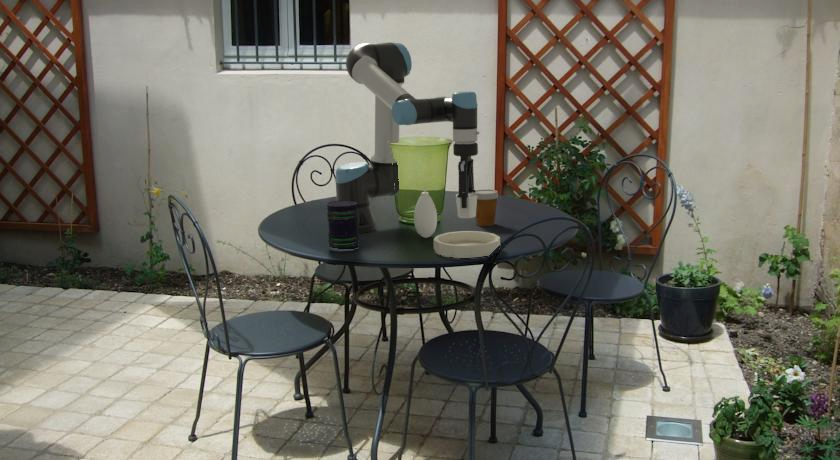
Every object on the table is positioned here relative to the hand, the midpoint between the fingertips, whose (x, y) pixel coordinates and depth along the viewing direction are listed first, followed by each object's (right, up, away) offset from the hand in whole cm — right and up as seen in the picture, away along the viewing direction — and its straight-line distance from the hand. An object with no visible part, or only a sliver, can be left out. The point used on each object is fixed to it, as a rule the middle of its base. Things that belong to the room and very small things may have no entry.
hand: (467, 215), depth 277 cm
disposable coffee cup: (+9, -3, +40) cm, 41 cm away
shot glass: (0, 0, 0) cm, 0 cm away
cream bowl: (0, -11, +3) cm, 11 cm away
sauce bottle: (-13, -7, +23) cm, 27 cm away
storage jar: (-39, -11, +10) cm, 42 cm away
